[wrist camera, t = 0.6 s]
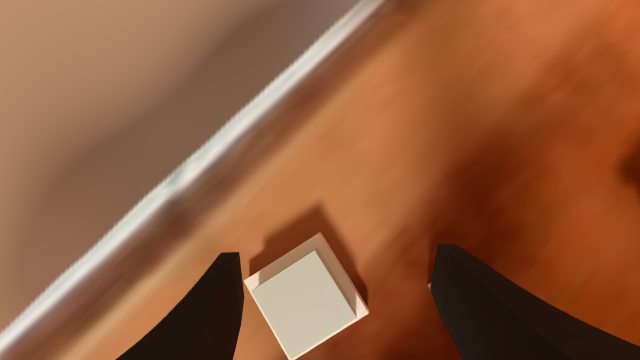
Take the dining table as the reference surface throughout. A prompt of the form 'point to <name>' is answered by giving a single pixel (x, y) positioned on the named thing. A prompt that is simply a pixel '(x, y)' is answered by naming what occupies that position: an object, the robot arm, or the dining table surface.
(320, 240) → the bottom slab
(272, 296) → the top slab
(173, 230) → the dining table surface
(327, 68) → the dining table surface
